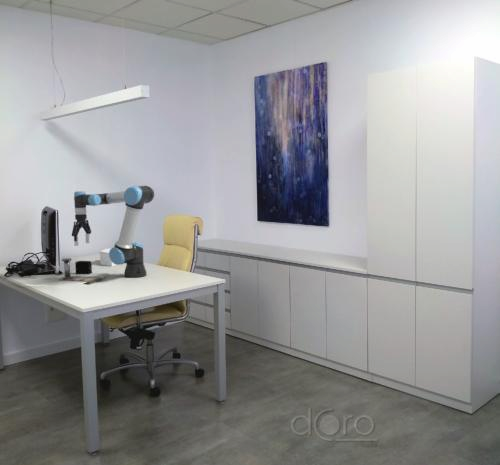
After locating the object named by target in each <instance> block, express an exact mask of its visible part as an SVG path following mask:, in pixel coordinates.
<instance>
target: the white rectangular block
mask: <svg viewBox="0 0 500 465" xmlns="http://www.w3.org/2000/svg"><path fill="white" fill-rule="evenodd" d="M111 249H112V248H103V249H102V250H100V251H99V260H100V261H99V262H100V265H102V266H107V267H114V266H116V265H117V264H114V263H113V262H112V261H111V259H110V257H109V251H110V250H111Z"/></svg>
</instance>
